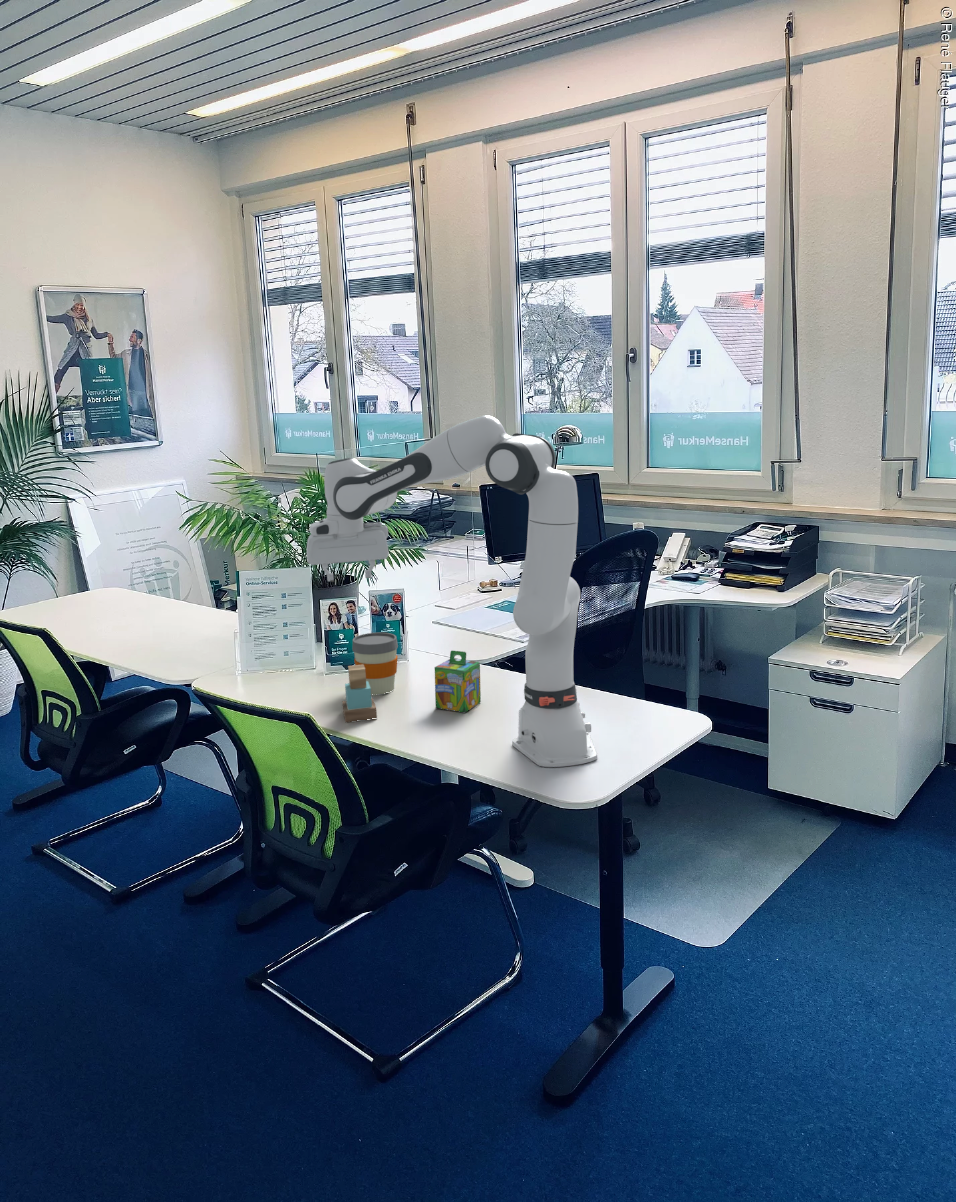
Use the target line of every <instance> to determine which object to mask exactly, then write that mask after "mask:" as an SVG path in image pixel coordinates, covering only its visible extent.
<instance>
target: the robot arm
mask: <svg viewBox="0 0 956 1202" xmlns="http://www.w3.org/2000/svg"><path fill="white" fill-rule="evenodd" d="M556 458H557V457H556V452H555V449H554V446H553V445H552V444H551V443H550V441H548V440H547V439H545V438H543V437H541V436H538V435H535V434H525V433H518V432H516V433H514V434H511V435H510V434H508V433H507V432H506V430H505V427H504V426H503V424H502V423H501V421H499V420H498V418H495V417H494V416H492V415H481V416H478V417H474V418H471V419H468V420H466V421H462V422H460V423H457V424H455V425H453V426H451V427H449V428H447V429H445V430H444V431H442V432H441V433H439V434H437V435H435V436H434V437H432V438H431V439H429V440H428V441H427V442H425V443H423V445H421V446H419V447H418V448H417V449H415V450H413V451H411V452H410V453H409V454H407V455H405V456H404V457H402V458H401V459H398V460H397V461H394V462H393V463H391V464H389V465H386V466H384V467H383V468H379V469H377V470H375V469H372V468H370V467H368V466H365V465H364V464H362V463H361V462H360V461H359V460H358V459H356V458H355V457H347V458H346V457H345V458H343V459H336V460H333V461H332V460H331V461H330V462H328V463H327V464H326V466H325V469H324V478H323V479H324V480H323V481H324V482H323V483H324V496H325V500H326V502H327V507H326V518H323V519H321V520H318V521H316V522H313V523H311V524H310V526H309V533H310V535H309V536H308V538H307V542H306V561H307V563H308V564H309V565H311V566H317V565H321V568H322V570H323V571H324V573H325V574H326V577H327V578H326V579H327V582H334V579H335V577H334V573H333V572H330V571H329V570H328V569H329V564H341V563H352V562H363V561H365V562H366V561H368V564H369V567H368V569H365V570H364V576H365V579H372V575H373V573H372V571H373V569H374V568H375V566H376V561H377V560H386V559H387V558H388V557H389V556H390V555H389V554H390V553H389V552H390V551H389V546H388V540H387V538H388V537H389V528H388V526H387V525H386V524H385V523H382V522H381V521H376V522H364V518H365V517H366V516H368V515H369V516H370V515H372V514H376V513H378V512H383V511H385V510H387V509H389V508H391V507H393V505H394V504H395V503H396V501H397V497H398V492H400V491H402V490H405V489H407V488H410V487H413V486H414V487H415V486H418V485H423V484H428V483H430V484H431V483H436V482H442V481H448V480H451V479H452V480H453V479H456V478H459V477H462V476H465V475H467V474H470V473H472V472H474V471H476V470H478V469H480V468H482V467H485V471H486V474H487V475H488V477H489V479H490V480H491V481H492V482H493V483H495V484H496V485H497V486H500V487H501V488H504V489H507V490H509V491H512V492H514V493H516V494H518V495H524V494H526V495H527V498H528V516H527V517H528V519H527V520H528V521H527V534H526V535H527V536H526V537H527V538H526V539H527V540H526V550H525V557H524V563H523V568H522V572H521V576H520V577H521V578H520V582H519V586H518V587H519V588H518V592H517V597H516V601H515V603H514V605H513V611H512V617H513V621H514V623H515V625H516V627H517V628H518V629H519V630H520V631H522V632H523V633H525V634H527V635H529V637H528V641H527V645H526V647H525V655H524V656H525V659H524V660H525V683H524V689H523V693H524V694H523V695H524V700H525V701H524V703H523V705H522V706H521V708H520V709H519V710H518V727H517V728H518V732H517V733H518V735H517V737H516V738H514V739H512V742H511V744H512V747H513V748H515V749H517V750H518V751H519V752H520V753H521V754H523V755H524V756H525V757H527V758H528V759H529V760H531V761H532V762H533V763H535V764H536V765H537V766H539V767H544V768H545V767H546V768H553V767H554V768H556V767H557V768H558V767H560V768H562V767H569V766H570V767H571V766H577V765H583V764H586V763H590V762H593V761H595V760H597V759H598V753H597V751H596V749H595V748H596V747H595V745H594V742H593V740H592V737H591V735H590V734H591V732H592V724H591V722H585V721H584V719H585V718H586V713H585V712H584V711H583V712H582V711H581V707H580V703H579V702H578V697H577V695H578V694H577V693H578V692H577V688H576V683H575V681H574V649H575V648H574V647H575V641H576V639H575V638H576V633H577V626H578V625H577V622H578V613H579V604H580V602H581V589H580V586H579V584H578V583H577V581H576V580H575V579H574V578H573V577H571V573H572V569H573V565H574V562H575V559H576V554H577V553H576V552H577V538H578V537H577V536H578V525H579V524H578V523H579V497H578V487H577V482H576V479H575V478H574V477H573V475H572V474H571V473H568V472H567V471H564V470H560V469H554V467H555V464H556V460H557V459H556Z"/></svg>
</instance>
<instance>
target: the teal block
mask: <svg viewBox="0 0 956 1202" xmlns="http://www.w3.org/2000/svg"><path fill="white" fill-rule="evenodd" d="M344 686H345V687H344V689H345V701H346V702H347V706H348V710H349V709H358V708H367V707H372V700H371V698H372V695H371V688H370V685H369V682H368V681H366V687H367V688H358V689H351V688H350V685H349V683H345V684H344Z"/></svg>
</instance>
